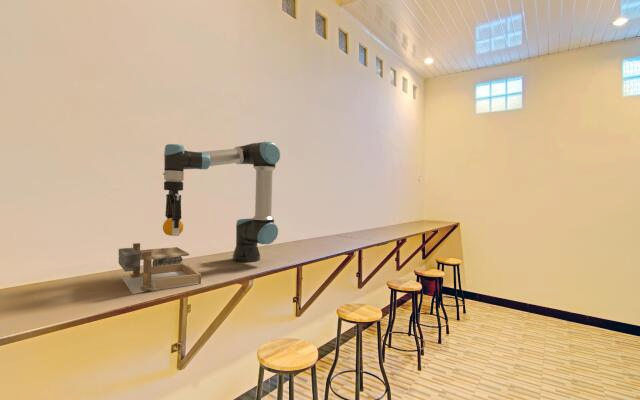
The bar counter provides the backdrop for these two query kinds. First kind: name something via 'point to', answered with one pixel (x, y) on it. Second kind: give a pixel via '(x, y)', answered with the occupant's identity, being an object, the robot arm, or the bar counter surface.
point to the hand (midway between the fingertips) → (172, 234)
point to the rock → (167, 261)
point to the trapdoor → (132, 257)
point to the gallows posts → (144, 269)
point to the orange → (168, 227)
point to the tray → (166, 278)
